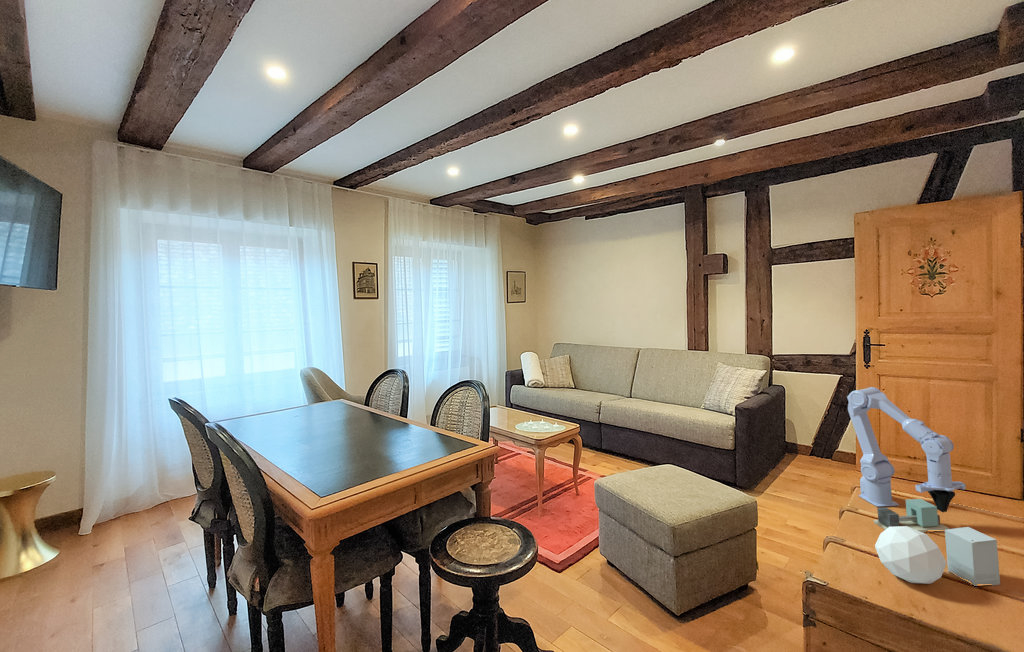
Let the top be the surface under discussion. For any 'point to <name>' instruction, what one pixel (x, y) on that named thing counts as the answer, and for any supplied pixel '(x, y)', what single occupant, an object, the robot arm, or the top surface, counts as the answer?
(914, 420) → the robot arm
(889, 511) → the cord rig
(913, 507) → the sleeve
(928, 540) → the geometric sphere
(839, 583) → the top surface
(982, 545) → the supplement box
